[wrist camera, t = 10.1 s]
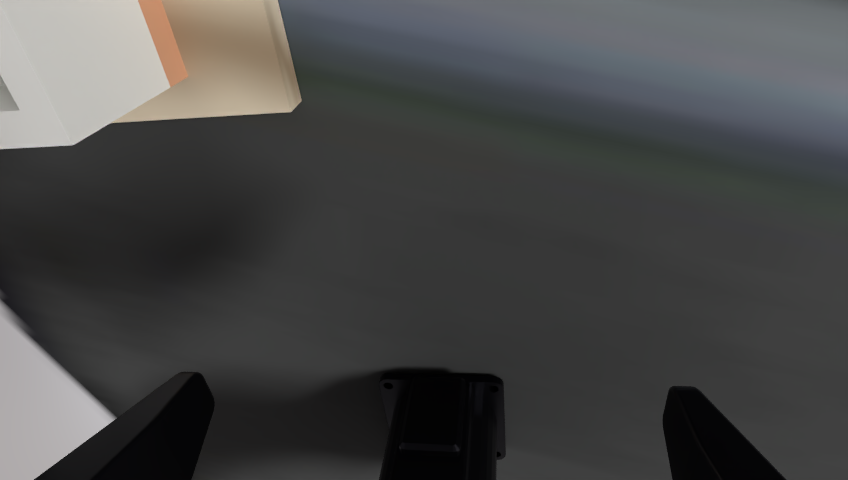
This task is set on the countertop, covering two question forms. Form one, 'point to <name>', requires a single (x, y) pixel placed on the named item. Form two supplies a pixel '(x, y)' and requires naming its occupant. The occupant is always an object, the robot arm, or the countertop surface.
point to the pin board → (226, 62)
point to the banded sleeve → (80, 66)
